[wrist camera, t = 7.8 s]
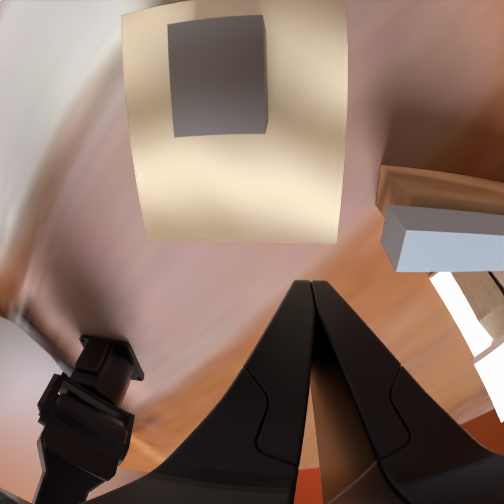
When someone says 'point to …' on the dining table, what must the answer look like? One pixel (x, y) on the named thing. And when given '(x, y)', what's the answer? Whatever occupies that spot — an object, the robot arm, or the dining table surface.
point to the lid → (238, 118)
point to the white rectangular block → (479, 322)
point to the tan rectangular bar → (438, 191)
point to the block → (443, 240)
